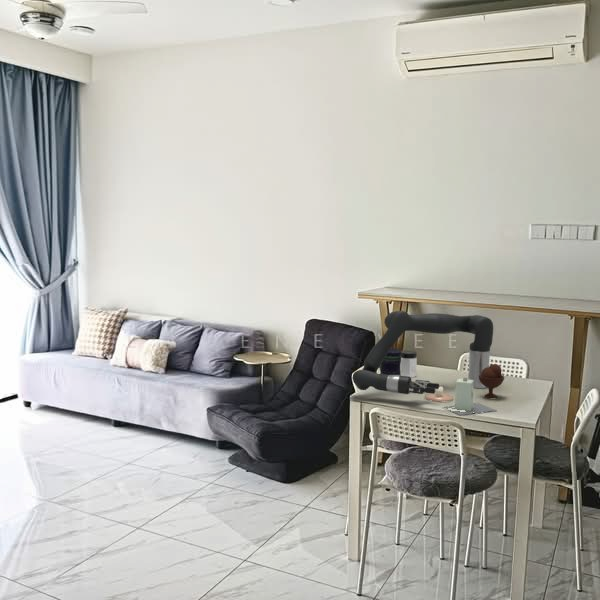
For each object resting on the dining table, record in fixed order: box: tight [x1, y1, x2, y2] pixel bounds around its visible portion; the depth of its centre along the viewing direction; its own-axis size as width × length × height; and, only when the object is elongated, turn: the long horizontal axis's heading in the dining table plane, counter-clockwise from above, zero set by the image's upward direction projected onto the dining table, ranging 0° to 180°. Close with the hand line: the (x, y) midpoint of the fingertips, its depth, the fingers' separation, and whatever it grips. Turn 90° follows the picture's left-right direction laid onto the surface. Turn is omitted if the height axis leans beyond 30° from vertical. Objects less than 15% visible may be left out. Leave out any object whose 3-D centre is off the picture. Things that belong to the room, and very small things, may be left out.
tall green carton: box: [454, 377, 474, 411], centre depth 278 cm, size 6×6×13 cm
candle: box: [435, 384, 444, 397], centre depth 295 cm, size 3×3×5 cm
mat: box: [443, 402, 497, 417], centre depth 279 cm, size 18×12×1 cm, turn 113°
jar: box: [400, 349, 418, 378], centre depth 337 cm, size 9×8×12 cm
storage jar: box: [379, 348, 402, 376], centre depth 325 cm, size 10×10×15 cm
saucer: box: [424, 392, 454, 402], centre depth 295 cm, size 12×12×1 cm
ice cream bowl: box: [479, 363, 505, 399], centre depth 298 cm, size 11×11×15 cm
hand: (436, 388), depth 282 cm, fingers open, 8 cm apart
